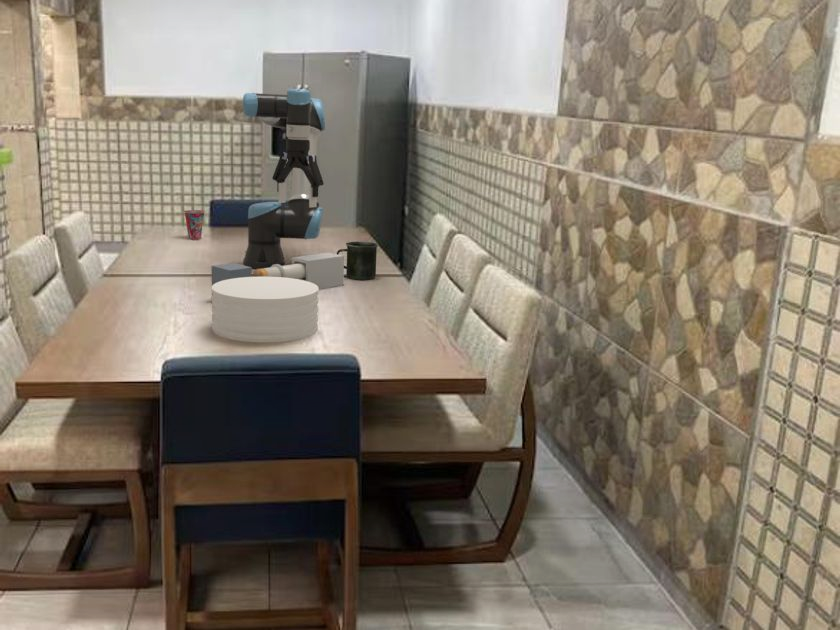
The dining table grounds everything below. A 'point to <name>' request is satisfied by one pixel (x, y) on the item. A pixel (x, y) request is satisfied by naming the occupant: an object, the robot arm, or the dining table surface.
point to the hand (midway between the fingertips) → (297, 204)
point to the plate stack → (264, 309)
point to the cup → (194, 223)
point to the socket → (229, 272)
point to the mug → (360, 260)
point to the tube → (283, 271)
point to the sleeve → (323, 269)
